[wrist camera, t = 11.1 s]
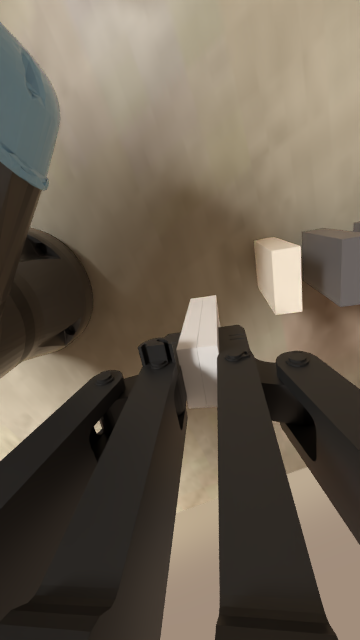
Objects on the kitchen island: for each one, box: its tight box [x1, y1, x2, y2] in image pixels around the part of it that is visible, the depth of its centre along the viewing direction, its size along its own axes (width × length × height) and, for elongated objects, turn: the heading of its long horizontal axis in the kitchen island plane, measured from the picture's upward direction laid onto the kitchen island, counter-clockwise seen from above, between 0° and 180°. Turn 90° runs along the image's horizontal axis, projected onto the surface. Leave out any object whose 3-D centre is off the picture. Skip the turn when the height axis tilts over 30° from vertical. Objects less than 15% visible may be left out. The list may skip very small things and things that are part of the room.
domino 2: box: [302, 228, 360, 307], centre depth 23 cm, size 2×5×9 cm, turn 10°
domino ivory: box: [254, 237, 302, 315], centre depth 24 cm, size 2×5×9 cm, turn 10°
